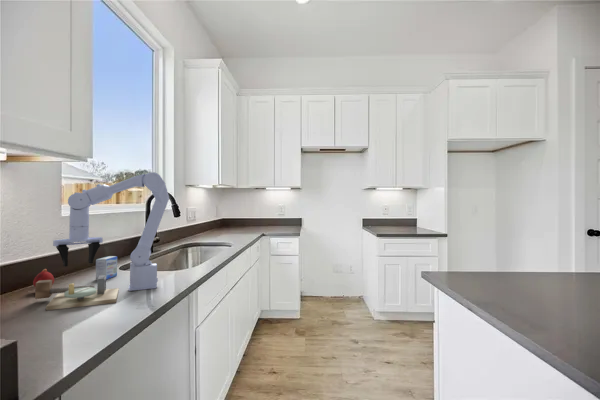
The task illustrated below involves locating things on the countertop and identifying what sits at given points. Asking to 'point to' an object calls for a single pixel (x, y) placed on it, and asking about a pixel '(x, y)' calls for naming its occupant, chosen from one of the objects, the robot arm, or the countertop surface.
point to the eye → (101, 284)
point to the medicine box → (106, 267)
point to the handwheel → (79, 292)
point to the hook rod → (50, 289)
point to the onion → (43, 277)
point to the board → (83, 300)
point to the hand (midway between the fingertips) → (78, 264)
